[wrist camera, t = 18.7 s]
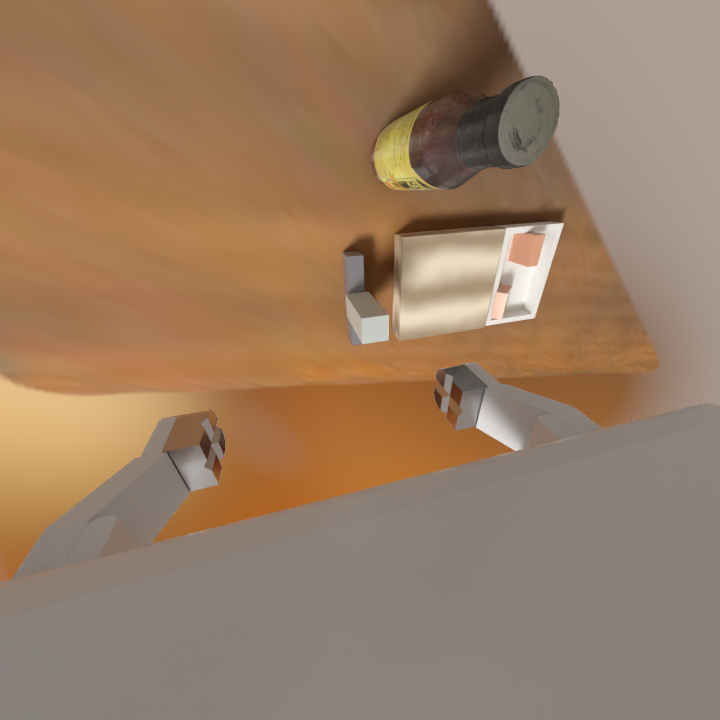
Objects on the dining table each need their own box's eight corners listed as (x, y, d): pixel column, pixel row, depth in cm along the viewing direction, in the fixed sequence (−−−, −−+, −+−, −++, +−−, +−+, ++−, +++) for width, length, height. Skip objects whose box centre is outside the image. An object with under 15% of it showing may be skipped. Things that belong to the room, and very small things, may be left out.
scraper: (338, 252, 36) (359, 274, 27) (361, 250, 37) (389, 271, 27) (344, 336, 42) (363, 377, 33) (364, 333, 43) (388, 373, 34)
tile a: (535, 235, 37) (545, 234, 37) (514, 231, 40) (523, 230, 40) (527, 267, 39) (537, 265, 39) (507, 260, 42) (516, 259, 42)
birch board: (394, 233, 36) (403, 237, 34) (491, 226, 39) (505, 228, 37) (392, 332, 44) (399, 340, 41) (473, 319, 47) (484, 327, 44)
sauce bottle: (376, 197, 34) (471, 208, 17) (362, 132, 30) (465, 69, 14) (426, 179, 34) (567, 173, 18) (418, 113, 31) (584, 30, 14)
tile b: (496, 292, 41) (507, 293, 40) (501, 284, 44) (512, 285, 43) (490, 317, 43) (501, 319, 42) (495, 309, 46) (505, 310, 45)
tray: (494, 225, 39) (506, 227, 37) (549, 221, 41) (563, 223, 39) (476, 319, 47) (485, 325, 45) (523, 312, 48) (534, 318, 46)
